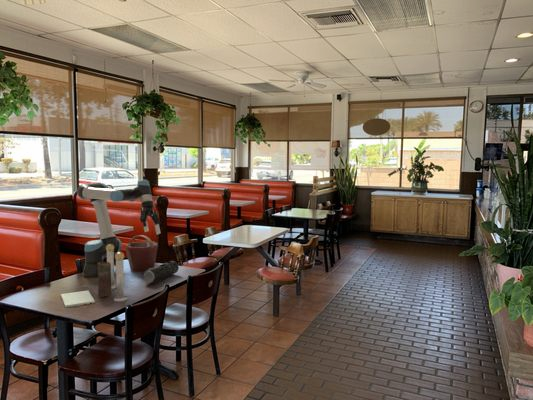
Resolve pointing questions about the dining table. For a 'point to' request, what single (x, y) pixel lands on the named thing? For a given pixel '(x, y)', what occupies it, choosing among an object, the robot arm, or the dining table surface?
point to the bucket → (141, 254)
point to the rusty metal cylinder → (104, 279)
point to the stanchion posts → (119, 272)
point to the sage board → (77, 298)
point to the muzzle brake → (160, 272)
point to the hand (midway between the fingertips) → (152, 232)
